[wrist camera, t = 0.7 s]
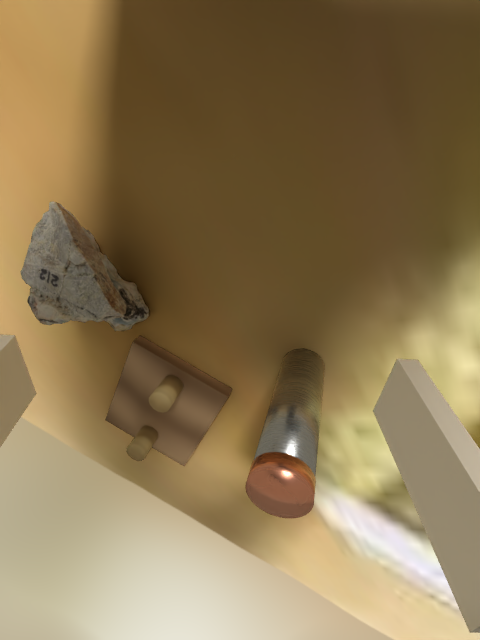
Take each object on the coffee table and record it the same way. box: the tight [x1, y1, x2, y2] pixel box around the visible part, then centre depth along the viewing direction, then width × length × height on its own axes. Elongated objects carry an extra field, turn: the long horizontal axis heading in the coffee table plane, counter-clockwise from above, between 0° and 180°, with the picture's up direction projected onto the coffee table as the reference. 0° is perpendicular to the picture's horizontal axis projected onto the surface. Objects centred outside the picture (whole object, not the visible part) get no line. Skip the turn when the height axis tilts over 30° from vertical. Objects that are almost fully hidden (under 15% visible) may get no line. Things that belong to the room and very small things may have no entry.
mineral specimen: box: [21, 202, 149, 331], centre depth 27 cm, size 10×8×10 cm
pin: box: [246, 349, 325, 518], centre depth 22 cm, size 4×4×12 cm
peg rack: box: [106, 336, 232, 466], centre depth 32 cm, size 12×10×4 cm
